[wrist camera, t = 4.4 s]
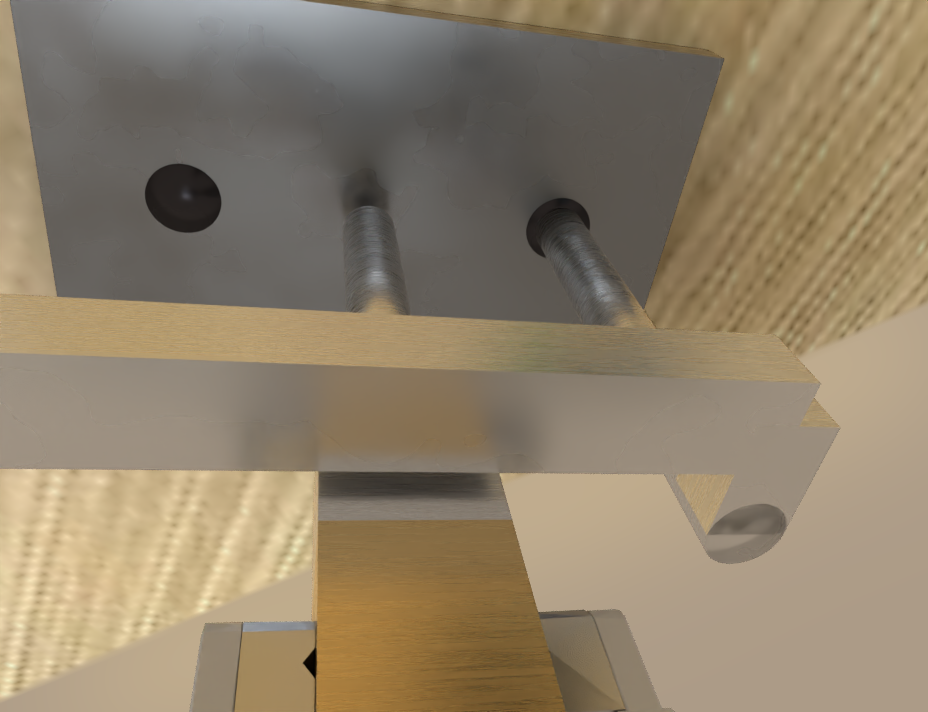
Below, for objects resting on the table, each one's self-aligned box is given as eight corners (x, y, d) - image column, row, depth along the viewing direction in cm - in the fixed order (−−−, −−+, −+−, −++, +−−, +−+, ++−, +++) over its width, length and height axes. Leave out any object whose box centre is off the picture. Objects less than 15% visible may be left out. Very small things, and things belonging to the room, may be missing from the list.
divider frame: (606, 128, 24) (863, 385, 12) (575, 251, 26) (767, 563, 15) (20, 63, 20) (-366, 339, 9) (43, 212, 22) (-239, 582, 11)
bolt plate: (708, 50, 24) (725, 58, 23) (612, 360, 30) (622, 378, 29) (19, -46, 20) (2, -41, 19) (76, 337, 26) (66, 357, 25)
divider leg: (419, 188, 23) (584, 777, 9) (411, 258, 25) (541, 874, 10) (320, 180, 23) (315, 799, 8) (317, 252, 24) (307, 900, 9)
